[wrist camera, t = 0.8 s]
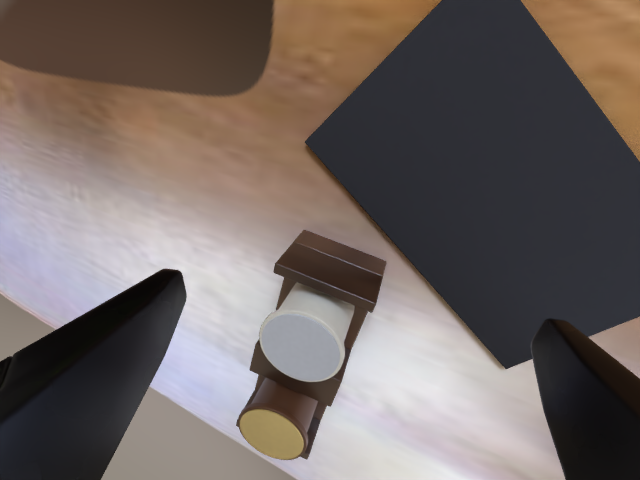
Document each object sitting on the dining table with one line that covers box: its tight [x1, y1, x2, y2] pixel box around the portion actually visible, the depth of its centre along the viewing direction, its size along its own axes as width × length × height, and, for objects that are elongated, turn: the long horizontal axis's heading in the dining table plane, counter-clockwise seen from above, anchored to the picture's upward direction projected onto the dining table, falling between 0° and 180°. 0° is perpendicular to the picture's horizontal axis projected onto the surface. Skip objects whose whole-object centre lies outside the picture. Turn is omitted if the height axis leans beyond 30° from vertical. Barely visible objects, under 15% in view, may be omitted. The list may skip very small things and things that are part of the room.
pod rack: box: [236, 230, 386, 459], centre depth 25 cm, size 6×16×5 cm, turn 165°
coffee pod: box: [259, 282, 354, 382], centre depth 21 cm, size 5×5×5 cm
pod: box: [238, 378, 318, 460], centre depth 25 cm, size 5×5×5 cm
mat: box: [305, 0, 640, 369], centre depth 20 cm, size 20×12×1 cm, turn 45°
